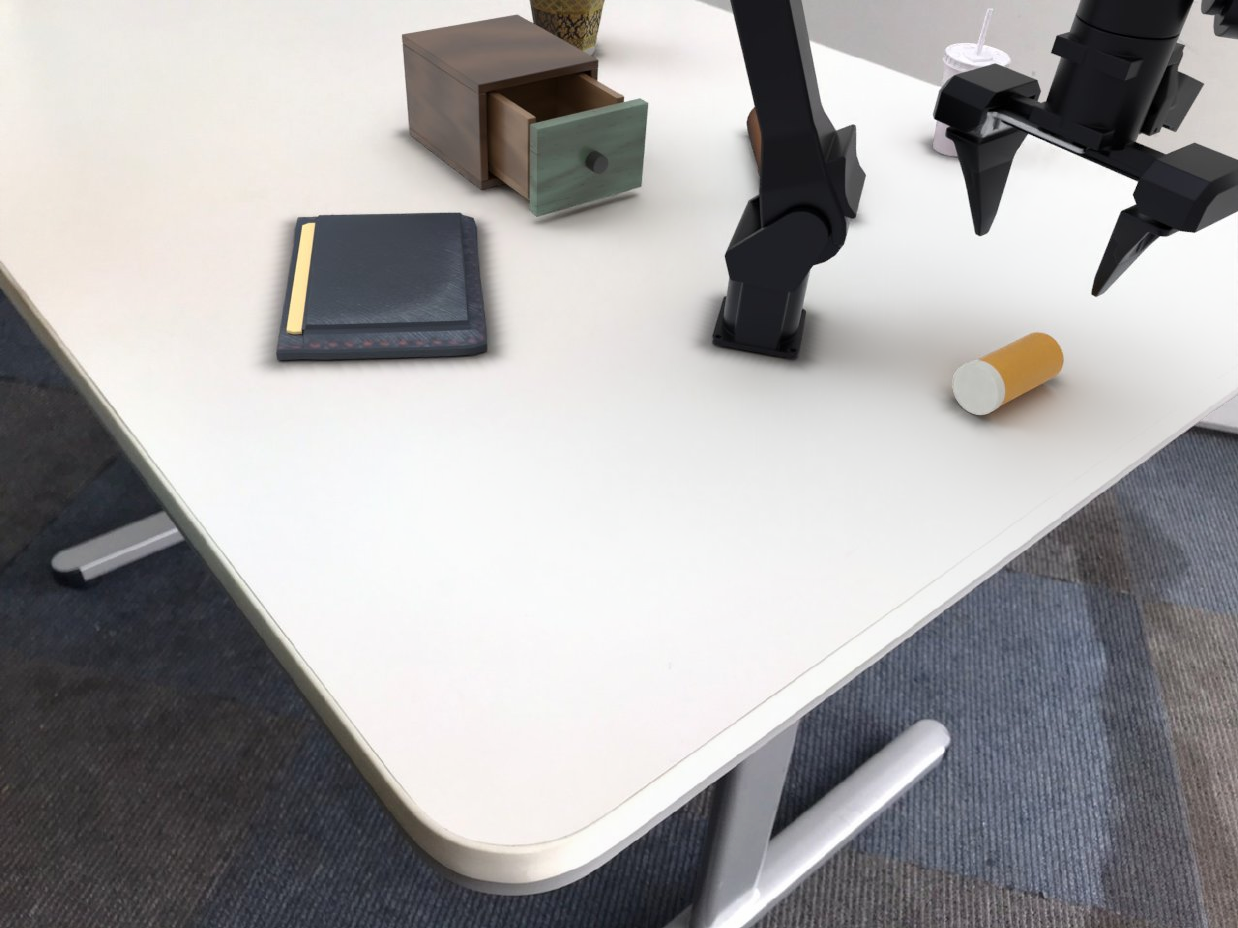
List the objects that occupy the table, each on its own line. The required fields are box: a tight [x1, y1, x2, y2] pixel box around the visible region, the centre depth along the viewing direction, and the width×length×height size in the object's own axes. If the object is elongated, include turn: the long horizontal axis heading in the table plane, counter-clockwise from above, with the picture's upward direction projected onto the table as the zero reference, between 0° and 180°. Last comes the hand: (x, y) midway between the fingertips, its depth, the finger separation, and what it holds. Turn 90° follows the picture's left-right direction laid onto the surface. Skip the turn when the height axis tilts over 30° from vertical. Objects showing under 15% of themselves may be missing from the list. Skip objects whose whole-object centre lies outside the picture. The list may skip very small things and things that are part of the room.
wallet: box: [275, 212, 488, 361], centre depth 79 cm, size 20×2×15 cm
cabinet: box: [401, 14, 599, 191], centre depth 96 cm, size 14×13×10 cm
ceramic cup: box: [529, 0, 606, 56], centre depth 117 cm, size 13×10×10 cm
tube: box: [951, 331, 1065, 416], centre depth 72 cm, size 8×4×4 cm, turn 127°
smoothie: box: [932, 7, 1012, 158], centre depth 101 cm, size 6×6×14 cm
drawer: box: [486, 72, 649, 218], centre depth 90 cm, size 14×11×8 cm
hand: (1037, 263), depth 68 cm, fingers open, 9 cm apart
